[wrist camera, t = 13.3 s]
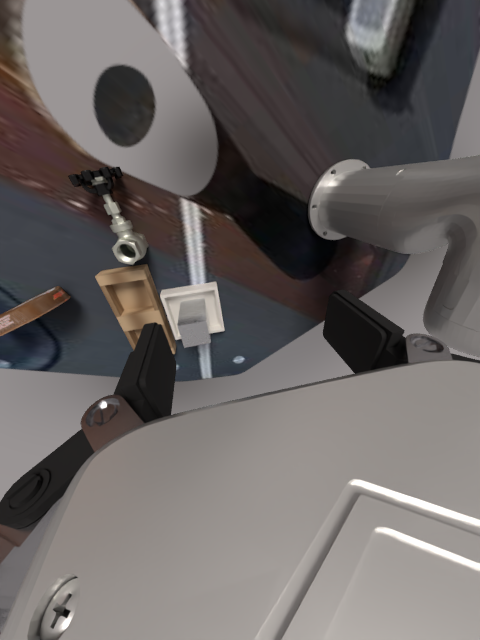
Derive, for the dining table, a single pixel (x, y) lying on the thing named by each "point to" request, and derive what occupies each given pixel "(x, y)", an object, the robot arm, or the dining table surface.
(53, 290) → the tin
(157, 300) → the wooden compartment tray
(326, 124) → the dining table surface
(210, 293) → the dish
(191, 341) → the gray rectangular block
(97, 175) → the valve
